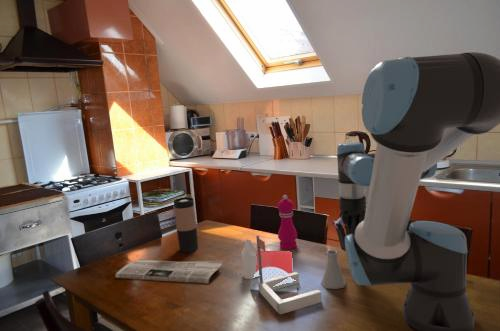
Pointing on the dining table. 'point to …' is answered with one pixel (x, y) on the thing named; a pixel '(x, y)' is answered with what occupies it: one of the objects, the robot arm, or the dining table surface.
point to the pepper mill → (286, 224)
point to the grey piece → (249, 259)
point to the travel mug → (186, 224)
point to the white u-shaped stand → (272, 297)
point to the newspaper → (170, 270)
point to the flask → (333, 272)
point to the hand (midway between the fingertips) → (355, 271)
